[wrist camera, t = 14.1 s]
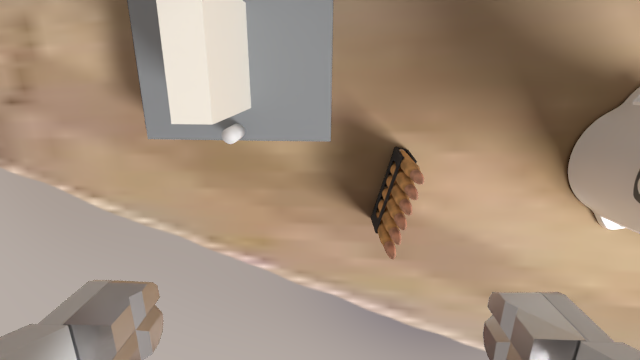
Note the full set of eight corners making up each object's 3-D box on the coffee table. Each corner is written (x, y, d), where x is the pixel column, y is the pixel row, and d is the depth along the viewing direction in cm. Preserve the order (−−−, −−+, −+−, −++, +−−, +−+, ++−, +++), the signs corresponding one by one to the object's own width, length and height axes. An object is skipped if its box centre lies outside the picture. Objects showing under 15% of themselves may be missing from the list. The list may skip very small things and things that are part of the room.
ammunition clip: (395, 146, 45) (416, 171, 33) (408, 149, 45) (434, 176, 33) (370, 218, 48) (382, 264, 36) (383, 221, 48) (398, 268, 36)
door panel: (245, 2, 33) (198, -35, 21) (251, 107, 36) (212, 124, 24) (214, 2, 33) (151, -35, 21) (223, 107, 36) (171, 124, 24)
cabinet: (333, -18, 39) (333, -52, 29) (331, 129, 44) (330, 147, 34) (157, -18, 40) (94, -50, 29) (175, 127, 45) (126, 144, 34)
